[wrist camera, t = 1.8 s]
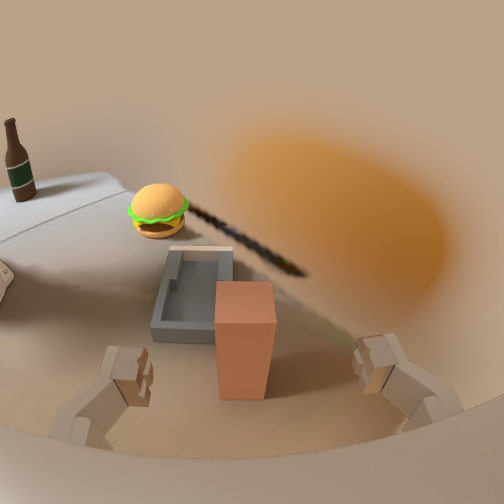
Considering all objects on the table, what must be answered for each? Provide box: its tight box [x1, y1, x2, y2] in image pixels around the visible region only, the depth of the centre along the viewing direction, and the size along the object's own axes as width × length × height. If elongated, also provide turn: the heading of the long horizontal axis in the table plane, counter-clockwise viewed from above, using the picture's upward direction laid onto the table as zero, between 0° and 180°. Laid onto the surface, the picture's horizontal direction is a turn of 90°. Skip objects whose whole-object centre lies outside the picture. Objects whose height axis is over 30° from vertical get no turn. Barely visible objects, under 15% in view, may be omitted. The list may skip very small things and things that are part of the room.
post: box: [214, 281, 277, 400], centre depth 31 cm, size 5×5×14 cm
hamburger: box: [128, 184, 188, 238], centre depth 59 cm, size 12×12×9 cm
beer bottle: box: [4, 118, 36, 202], centre depth 65 cm, size 8×8×24 cm
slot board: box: [150, 246, 233, 344], centre depth 45 cm, size 17×10×3 cm, turn 2°
